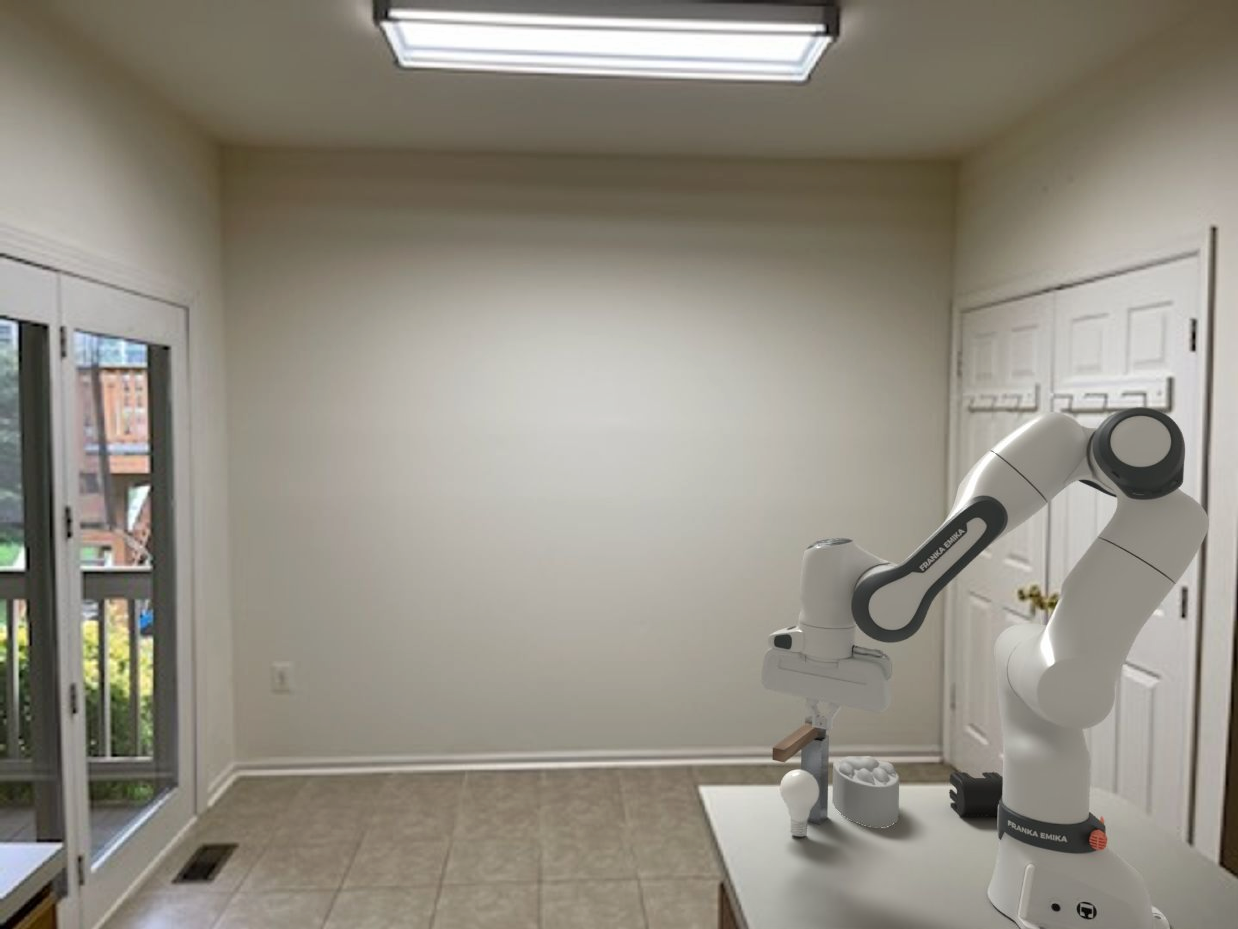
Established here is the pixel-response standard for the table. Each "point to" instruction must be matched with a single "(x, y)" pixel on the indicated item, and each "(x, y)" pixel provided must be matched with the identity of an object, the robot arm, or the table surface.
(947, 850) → the table surface
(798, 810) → the lightbulb
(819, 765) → the post
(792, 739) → the hammer
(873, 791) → the lumpy-topped squat cylinder
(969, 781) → the end cap
